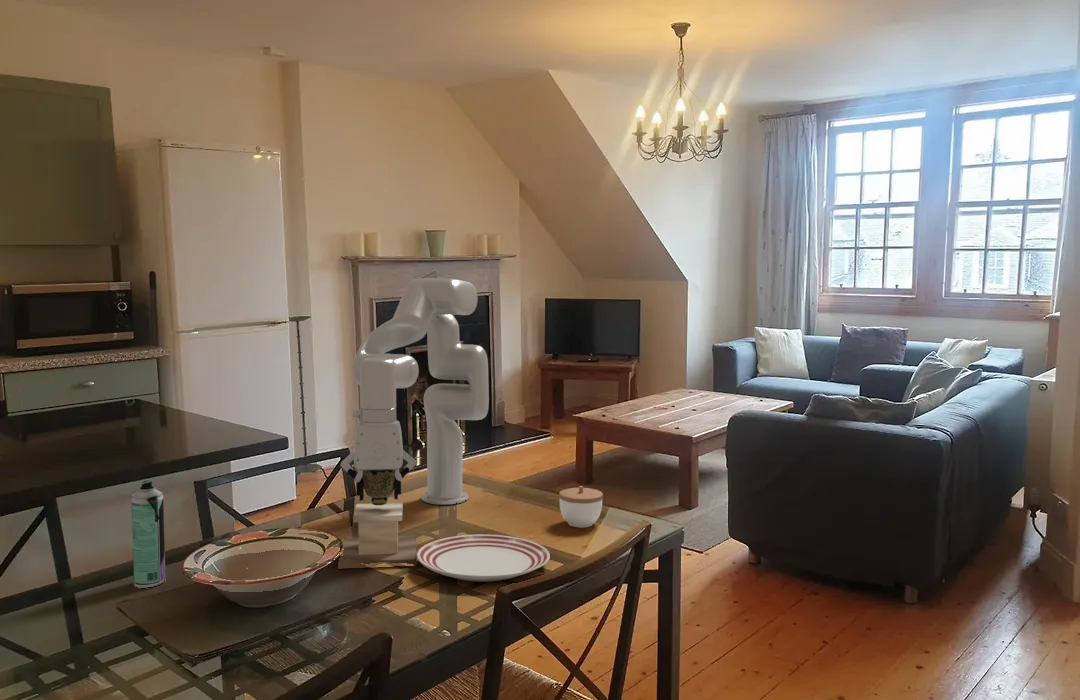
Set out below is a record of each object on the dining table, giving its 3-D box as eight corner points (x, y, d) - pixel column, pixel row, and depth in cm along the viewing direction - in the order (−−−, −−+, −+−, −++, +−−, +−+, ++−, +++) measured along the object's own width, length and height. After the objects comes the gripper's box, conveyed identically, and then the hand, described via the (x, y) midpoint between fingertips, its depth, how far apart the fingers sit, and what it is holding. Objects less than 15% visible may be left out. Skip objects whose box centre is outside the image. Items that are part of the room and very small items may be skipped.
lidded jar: (611, 523, 197) (611, 486, 197) (584, 533, 189) (585, 494, 188) (576, 515, 204) (577, 479, 203) (549, 524, 196) (550, 486, 195)
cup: (401, 499, 175) (400, 463, 174) (391, 509, 168) (391, 471, 167) (367, 498, 176) (367, 462, 175) (357, 508, 168) (356, 470, 168)
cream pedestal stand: (343, 544, 179) (343, 500, 178) (416, 541, 181) (416, 498, 181) (337, 569, 163) (337, 521, 162) (416, 566, 166) (416, 518, 165)
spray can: (171, 580, 156) (169, 479, 155) (149, 590, 151) (146, 486, 150) (149, 576, 158) (147, 477, 156) (127, 586, 153) (124, 483, 151)
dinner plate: (489, 538, 185) (489, 524, 185) (577, 568, 166) (577, 552, 166) (390, 566, 166) (390, 550, 166) (476, 603, 147) (476, 586, 147)
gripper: (334, 419, 165) (335, 504, 166) (419, 418, 168) (420, 501, 169) (338, 413, 172) (338, 495, 174) (419, 412, 175) (419, 492, 177)
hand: (378, 497), depth 171 cm, fingers closed on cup, 6 cm apart
